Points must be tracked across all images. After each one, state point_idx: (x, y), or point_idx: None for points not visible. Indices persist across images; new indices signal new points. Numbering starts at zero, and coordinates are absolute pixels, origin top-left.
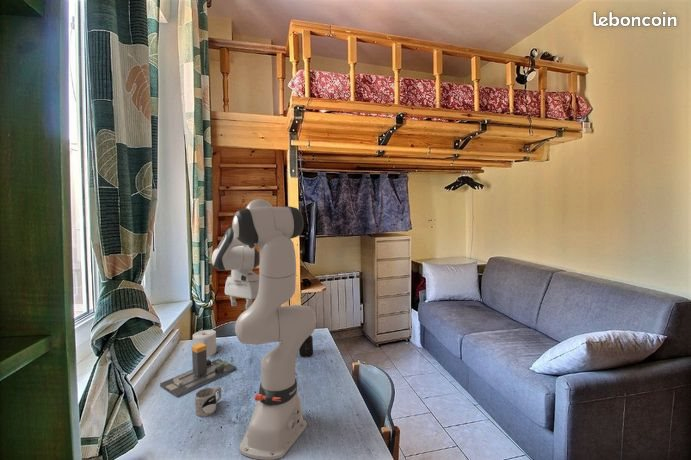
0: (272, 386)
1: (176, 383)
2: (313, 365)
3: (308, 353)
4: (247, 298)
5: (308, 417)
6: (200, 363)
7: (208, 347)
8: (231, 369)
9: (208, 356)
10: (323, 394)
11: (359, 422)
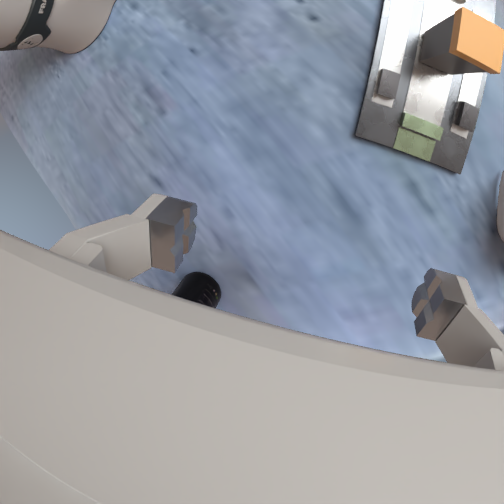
0: None
1: None
2: None
3: (181, 281)
4: (19, 238)
5: (51, 60)
6: (436, 33)
7: None
8: (360, 115)
9: (501, 186)
10: (63, 133)
11: (6, 104)
